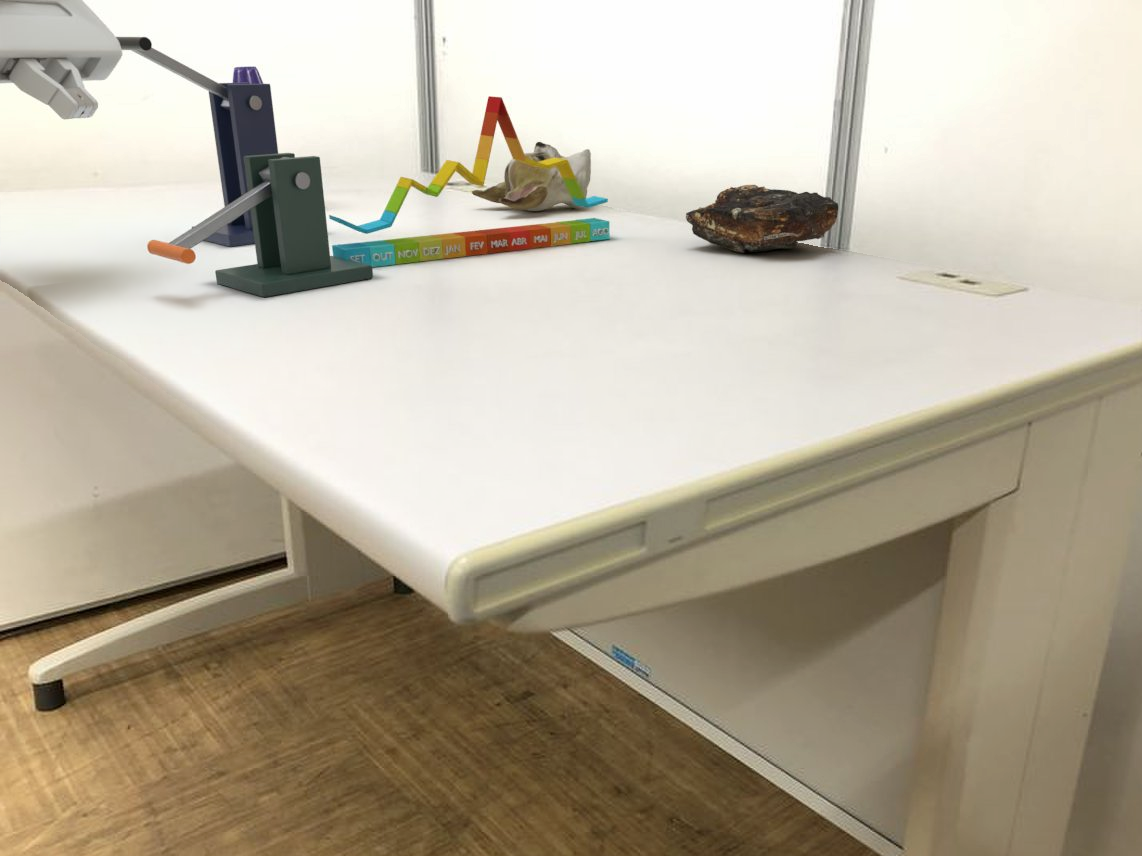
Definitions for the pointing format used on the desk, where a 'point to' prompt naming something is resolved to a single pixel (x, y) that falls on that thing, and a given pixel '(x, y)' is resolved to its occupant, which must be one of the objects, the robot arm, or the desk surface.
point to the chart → (480, 239)
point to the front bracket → (290, 232)
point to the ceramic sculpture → (538, 181)
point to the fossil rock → (763, 218)
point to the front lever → (212, 223)
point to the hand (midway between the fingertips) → (83, 113)
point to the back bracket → (241, 148)
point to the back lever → (173, 66)
